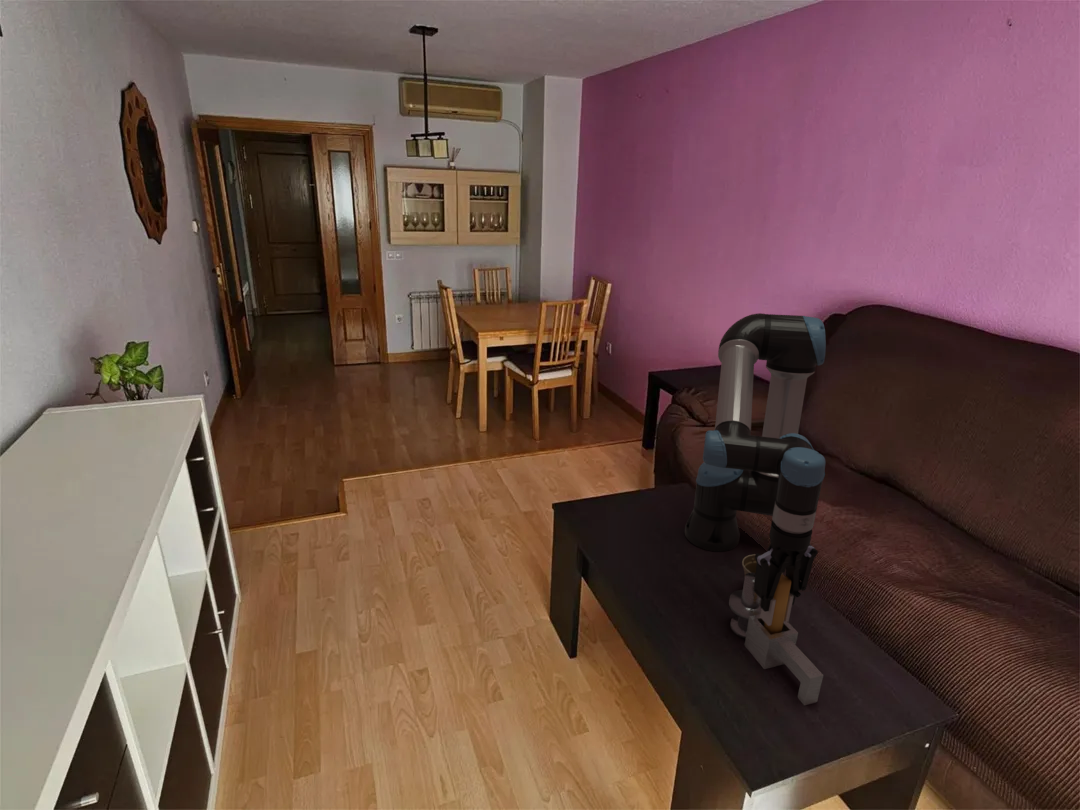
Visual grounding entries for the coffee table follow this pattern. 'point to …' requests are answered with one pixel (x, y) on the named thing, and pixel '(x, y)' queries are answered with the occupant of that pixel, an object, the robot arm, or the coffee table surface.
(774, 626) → the tapered pin
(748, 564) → the flower pot
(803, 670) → the rosette bracket
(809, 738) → the coffee table surface
